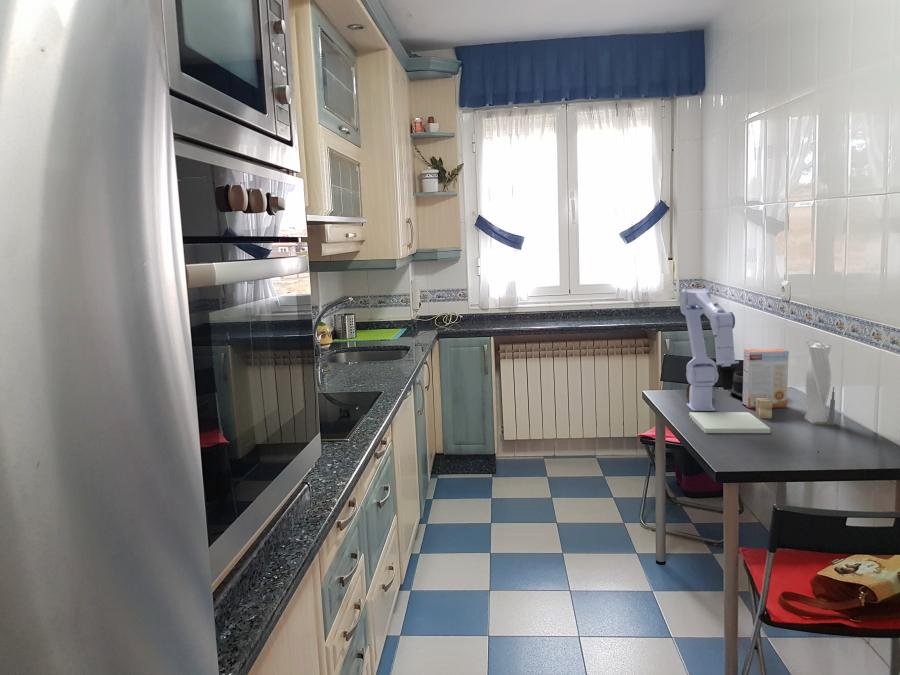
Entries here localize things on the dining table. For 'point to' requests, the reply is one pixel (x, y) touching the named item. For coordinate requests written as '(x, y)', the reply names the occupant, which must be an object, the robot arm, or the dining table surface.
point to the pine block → (764, 407)
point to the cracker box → (765, 376)
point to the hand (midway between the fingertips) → (727, 389)
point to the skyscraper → (819, 385)
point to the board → (728, 422)
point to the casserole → (737, 384)
